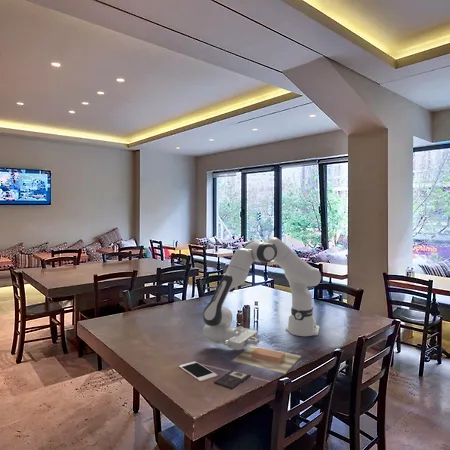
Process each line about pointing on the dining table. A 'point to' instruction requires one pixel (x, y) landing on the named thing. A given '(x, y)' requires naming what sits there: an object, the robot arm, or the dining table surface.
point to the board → (282, 367)
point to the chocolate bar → (231, 379)
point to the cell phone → (198, 371)
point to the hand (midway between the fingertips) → (258, 342)
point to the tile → (268, 355)
